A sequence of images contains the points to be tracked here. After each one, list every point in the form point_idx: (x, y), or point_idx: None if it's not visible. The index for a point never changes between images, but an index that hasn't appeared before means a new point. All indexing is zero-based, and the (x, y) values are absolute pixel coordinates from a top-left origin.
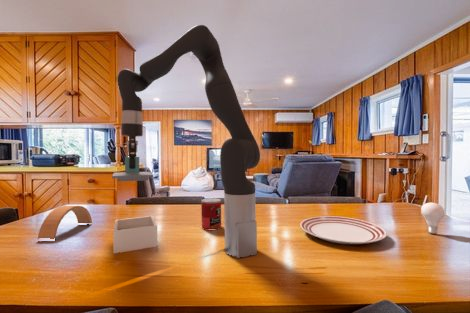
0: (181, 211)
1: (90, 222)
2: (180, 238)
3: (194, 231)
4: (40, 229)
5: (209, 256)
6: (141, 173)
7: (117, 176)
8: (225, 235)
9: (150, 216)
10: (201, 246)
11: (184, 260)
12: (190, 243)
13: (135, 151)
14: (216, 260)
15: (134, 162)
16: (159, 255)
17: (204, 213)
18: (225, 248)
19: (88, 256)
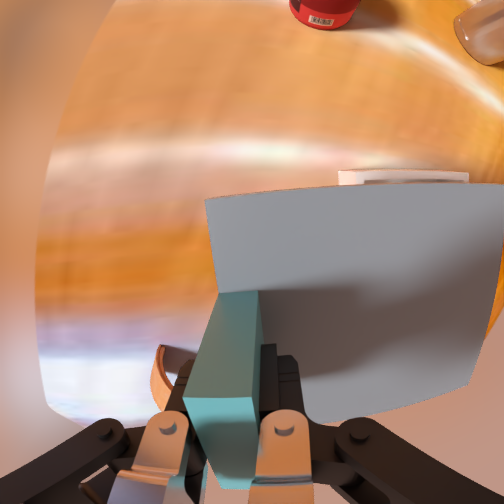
0: (79, 87)
1: (162, 351)
2: (391, 104)
3: (344, 55)
4: None
5: (487, 92)
6: (398, 264)
7: (473, 365)
8: (501, 57)
9: (363, 180)
10: (449, 82)
11: (491, 135)
12: (429, 94)
13: (437, 466)
14: (498, 91)
15: (277, 386)
16: (465, 171)
17: (350, 6)
18: (485, 61)
19: None
